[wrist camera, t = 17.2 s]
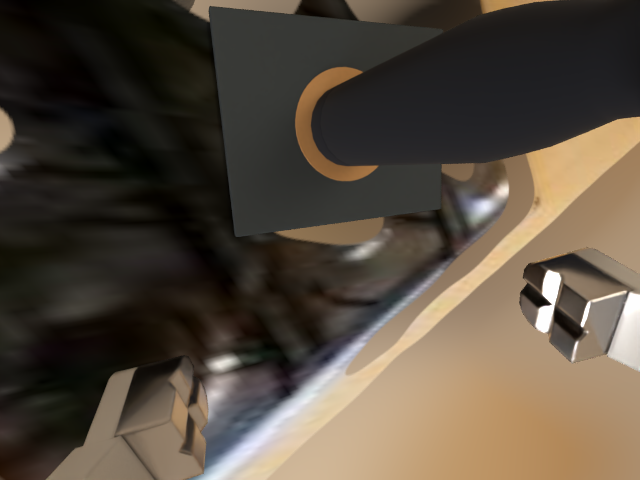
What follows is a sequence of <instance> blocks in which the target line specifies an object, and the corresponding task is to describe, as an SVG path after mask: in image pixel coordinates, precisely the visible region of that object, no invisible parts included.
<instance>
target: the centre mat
mask: <svg viewBox="0 0 640 480" xmlns="http://www.w3.org/2000/svg"><path fill="white" fill-rule="evenodd" d="M209 18H210V27H211V35H212V44H213V52H214V61H215V69H216V78H217V87H218V95H219V104H220V112H221V121H222V129H223V138H224V146H225V155H226V164H227V172H228V181H229V189H230V198H231V206H232V215H233V224H234V232H235V236H236V237H240V236H247V235H255V234H262V233H269V232H276V231H283V230H291V229H298V228H306V227H312V226H320V225H327V224H335V223H341V222H348V221H355V220H364V219H370V218H378V217H385V216H393V215H400V214H407V213H414V212H422V211H429V210H436V209H441V164H419V165H380V166H342V165H337V164H335V163H333V162H331V161H329V160H327V159H326V158H325V157H324V156H323V155H322V153H321V152H320V151H319V150H318V148H317V146H316V144H315V142H314V140H313V136H312V130H311V119H312V112H313V110H314V107H315V105H316V103H317V100H318V99H319V98H320V97H321V96H322V95H323V94H324V93H325V91H327V90H329V89H331V88H333V87H335V86H337V85H339V84H341V83H343V82H345V81H347V80H349V79H351V78H353V77H355V76H357V75H359V74H361V73H363V72H365V71H367V70H369V69H371V68H373V67H375V66H377V65H379V64H381V63H383V62H385V61H387V60H389V59H391V58H393V57H395V56H397V55H399V54H401V53H403V52H405V51H407V50H409V49H411V48H413V47H415V46H417V45H419V44H421V43H423V42H426V41H428V40H430V39H432V38H434V37H436V36H438V35H440V34H442V33H443V29H435V28H425V27H415V26H404V25H395V24H385V23H374V22H365V21H355V20H345V19H335V18H324V17H314V16H304V15H294V14H284V13H274V12H264V11H254V10H244V9H233V8H223V7H212V6H210V7H209Z"/></svg>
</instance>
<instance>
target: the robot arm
mask: <svg viewBox="0 0 640 480" xmlns="http://www.w3.org/2000/svg"><path fill="white" fill-rule="evenodd" d="M523 278H524V280H525V281H526V282H527V285H526V286H525V287H524V289H523V290H522V291H521V292H520V302H519V303H520V306H521V310H522V313H523V315H524V316H525V318H526V319H527V321H528V322H529V323H530V324H531V325H532V326H533V327H534V328H535V329H537V330H540V331H543V332H545V333H548V335H549V342H550V343H551V344H552V345H553V346H554V347H555V348H556V349H557V350H558V351H559V352H561V354H563V355H564V356H565V357H566V358H567V359H568V360H569V361H570V362H571V363H576V362H580V361H583V360H587V359H591V358H594V357H598V356H602V355H606V354H607V357H610V358H612V359H614V360H616V361H618V362H620V363H622V364H624V365H626V366H629V367H631V368H633V369H635V370H637V371H639V372H640V274H639V273H637V272H635V271H633V270H632V269H630V268H628V267H626V266H625V265H623V264H621V263H619V262H618V261H616V260H614V259H612V258H611V257H609V256H607V255H605V254H603V253H602V252H600V251H598V250H596V249H593V248H588V247H586V248H583V249H579V250H575V251H572V252H568V253H567V254H562V255H558V256H555V257H551V258H547V259H544V260H540V261H536V262H533V263H529V264H528V265H527V266H526V268H525V269H524V274H523ZM193 371H194V365H193V364H192V362H191V360H190V358H189V356H185V355H183V356H179V357H175V358H171V359H167V360H163V361H159V362H154V363H150V364H146V365H142V366H139V367H136V368H132V369H128V370H123V371H119V372H115V373H114V374H113V375H112V376H111V377H110V378H109V381H108V383H107V386H106V388H105V391H104V393H103V396H102V399H101V401H100V404H99V406H98V409H97V412H96V414H95V417H94V419H93V422H92V424H91V427H90V430H89V432H88V435H87V437H86V440H85V443H84V445H83V446H82V447H79V448H76V449H74V450H73V451H72V452H71V453H70V455H69V456H68V457H67V458H66V459H65V460H64V461H63V462H62V463H61V464H60V465H59V466H58V467H57V468H56V469H55V470H54V471H53V473H52V474H51V475H50V476H49V477H48V478H47V479H46V480H186V479H189V478H192V477H195V476H198V475H201V474H204V462H205V450H206V441H205V439H204V437H203V435H202V433H201V431H202V430H203V428H204V427H205V425H206V424H207V423H208V402H207V395H206V392H205V388H204V386H203V383H202V381H201V380H200V379H198V378H196V377H194V376H193Z"/></svg>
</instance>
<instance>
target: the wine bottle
mask: <svg viewBox="0 0 640 480" xmlns="http://www.w3.org/2000/svg"><path fill="white" fill-rule="evenodd" d="M631 117H640V0H559V1H544V2H533V3H529V4H524V5H519V6H514V7H509V8H504V9H501V10H497V11H493V12H489V13H486V14H482V15H478V16H476V17H474V18H472V19H470V20H468V21H466V22H464V23H462V24H460V25H458V26H456V27H454V28H452V29H450V30H448V31H446V32H444V33H442V34H440V35H438V36H436V37H434V38H432V39H430V40H428V41H426V42H423V43H421V44H419V45H417V46H415V47H413V48H411V49H409V50H407V51H405V52H403V53H401V54H399V55H397V56H395V57H393V58H391V59H389V60H387V61H385V62H383V63H381V64H379V65H377V66H375V67H373V68H371V69H369V70H367V71H365V72H363V73H361V74H359V75H357V76H355V77H353V78H351V79H349V80H347V81H345V82H343V83H341V84H339V85H337V86H335V87H333V88H331V89H329V90H327V91H325V93H324V94H323V95H322V96H321V97H320V98H319V99H318V100H317V103H316V105H315V107H314V110H313V112H312V119H311V130H312V136H313V140H314V142H315V144H316V146H317V148H318V150H319V151H320V152H321V153H322V155H323V156H324V157H325V158H326V159H327V160H329V161H331V162H333V163H335V164H337V165H342V166H380V165H419V164H458V163H486V162H491V161H496V160H500V159H505V158H509V157H513V156H517V155H522V154H525V153H529V152H533V151H536V150H540V149H543V148H547V147H551V146H553V145H556V144H558V143H561V142H563V141H566V140H568V139H571V138H573V137H576V136H578V135H581V134H583V133H586V132H588V131H590V130H593V129H595V128H598V127H600V126H602V125H605V124H607V123H610V122H612V121H614V120H617V119H622V118H631Z"/></svg>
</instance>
